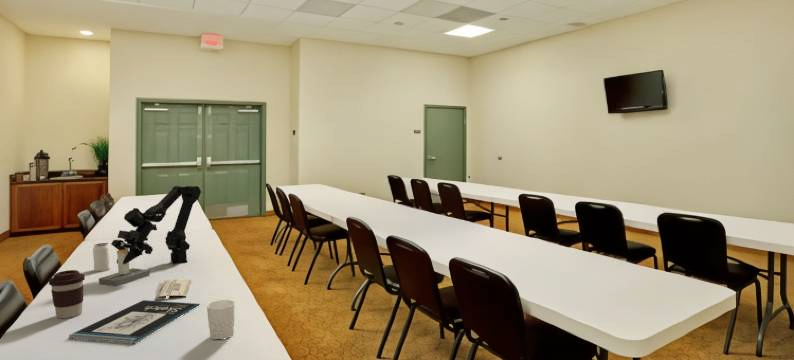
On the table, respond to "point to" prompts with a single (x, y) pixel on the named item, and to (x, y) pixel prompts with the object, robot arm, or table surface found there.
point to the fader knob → (122, 267)
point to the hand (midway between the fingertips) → (120, 263)
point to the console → (123, 277)
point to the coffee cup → (67, 293)
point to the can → (101, 257)
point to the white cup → (221, 319)
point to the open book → (173, 288)
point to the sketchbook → (134, 322)
